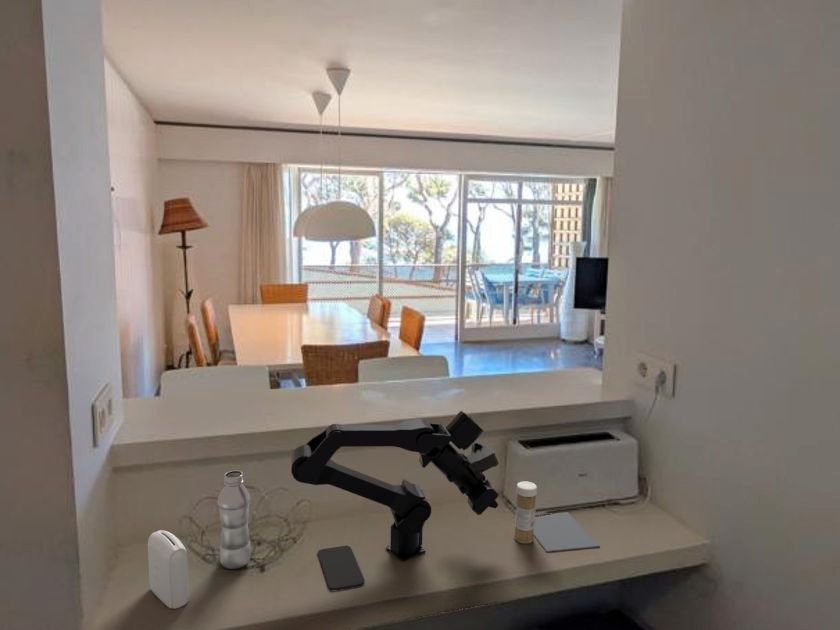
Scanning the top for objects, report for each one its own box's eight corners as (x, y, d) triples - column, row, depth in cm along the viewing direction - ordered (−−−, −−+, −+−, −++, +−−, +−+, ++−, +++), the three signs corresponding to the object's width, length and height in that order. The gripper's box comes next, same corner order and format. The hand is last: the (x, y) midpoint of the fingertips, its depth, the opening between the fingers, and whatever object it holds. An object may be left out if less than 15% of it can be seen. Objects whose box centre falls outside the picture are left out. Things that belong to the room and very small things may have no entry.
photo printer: (146, 588, 115) (143, 529, 113) (168, 579, 119) (166, 521, 117) (170, 613, 108) (167, 550, 107) (192, 602, 112) (190, 541, 110)
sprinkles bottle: (522, 532, 141) (525, 478, 138) (537, 540, 137) (541, 485, 135) (509, 538, 138) (512, 483, 136) (524, 546, 134) (528, 491, 132)
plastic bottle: (257, 558, 127) (256, 469, 124) (240, 576, 120) (238, 483, 117) (231, 553, 128) (229, 465, 125) (212, 570, 122) (209, 478, 119)
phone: (349, 544, 132) (366, 582, 118) (349, 548, 133) (366, 586, 119) (316, 549, 130) (329, 589, 116) (316, 553, 130) (329, 593, 116)
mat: (546, 552, 132) (546, 551, 132) (519, 517, 148) (519, 516, 148) (599, 546, 135) (599, 545, 135) (567, 513, 150) (567, 512, 150)
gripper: (490, 453, 122) (538, 499, 126) (464, 423, 140) (506, 464, 144) (452, 492, 121) (501, 537, 125) (431, 456, 139) (474, 497, 143)
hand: (496, 506), depth 134 cm, fingers closed
